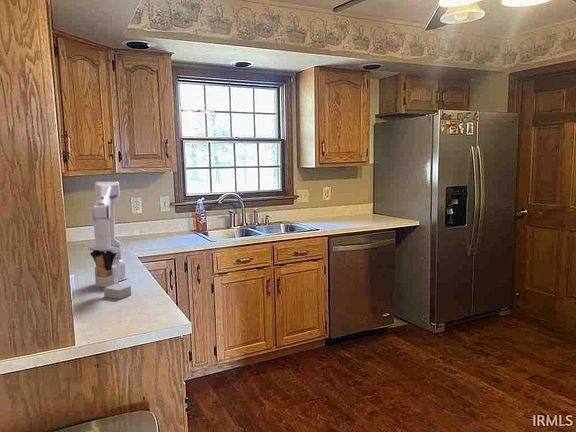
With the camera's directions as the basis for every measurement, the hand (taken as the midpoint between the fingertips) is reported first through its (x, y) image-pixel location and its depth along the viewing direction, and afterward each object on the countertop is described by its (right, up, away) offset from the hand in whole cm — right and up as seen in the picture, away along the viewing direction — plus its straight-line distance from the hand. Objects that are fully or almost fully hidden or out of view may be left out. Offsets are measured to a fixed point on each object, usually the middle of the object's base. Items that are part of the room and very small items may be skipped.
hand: (104, 269), depth 172 cm
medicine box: (-4, -9, +13) cm, 16 cm away
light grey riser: (+6, -10, -1) cm, 12 cm away
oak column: (0, -3, 0) cm, 3 cm away
